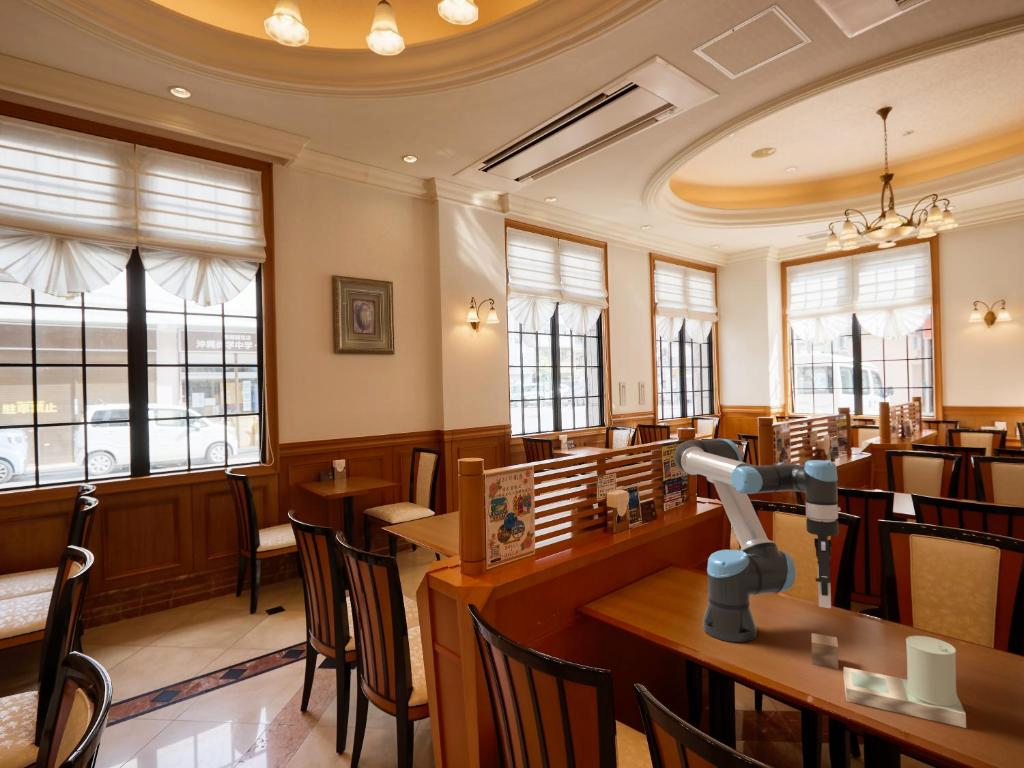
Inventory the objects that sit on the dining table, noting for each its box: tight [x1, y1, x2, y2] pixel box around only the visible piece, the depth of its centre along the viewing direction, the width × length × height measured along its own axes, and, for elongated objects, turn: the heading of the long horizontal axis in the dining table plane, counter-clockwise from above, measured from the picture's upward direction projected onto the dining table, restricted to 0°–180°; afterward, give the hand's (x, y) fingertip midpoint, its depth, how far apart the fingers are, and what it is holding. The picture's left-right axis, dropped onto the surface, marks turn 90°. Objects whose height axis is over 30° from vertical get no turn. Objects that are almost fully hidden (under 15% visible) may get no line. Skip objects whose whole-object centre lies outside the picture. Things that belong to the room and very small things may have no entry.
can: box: [905, 635, 958, 706], centre depth 124 cm, size 9×9×12 cm
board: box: [843, 666, 967, 729], centre depth 127 cm, size 22×11×3 cm, turn 61°
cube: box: [811, 632, 839, 671], centre depth 146 cm, size 6×6×6 cm
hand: (824, 598), depth 145 cm, fingers open, 13 cm apart
